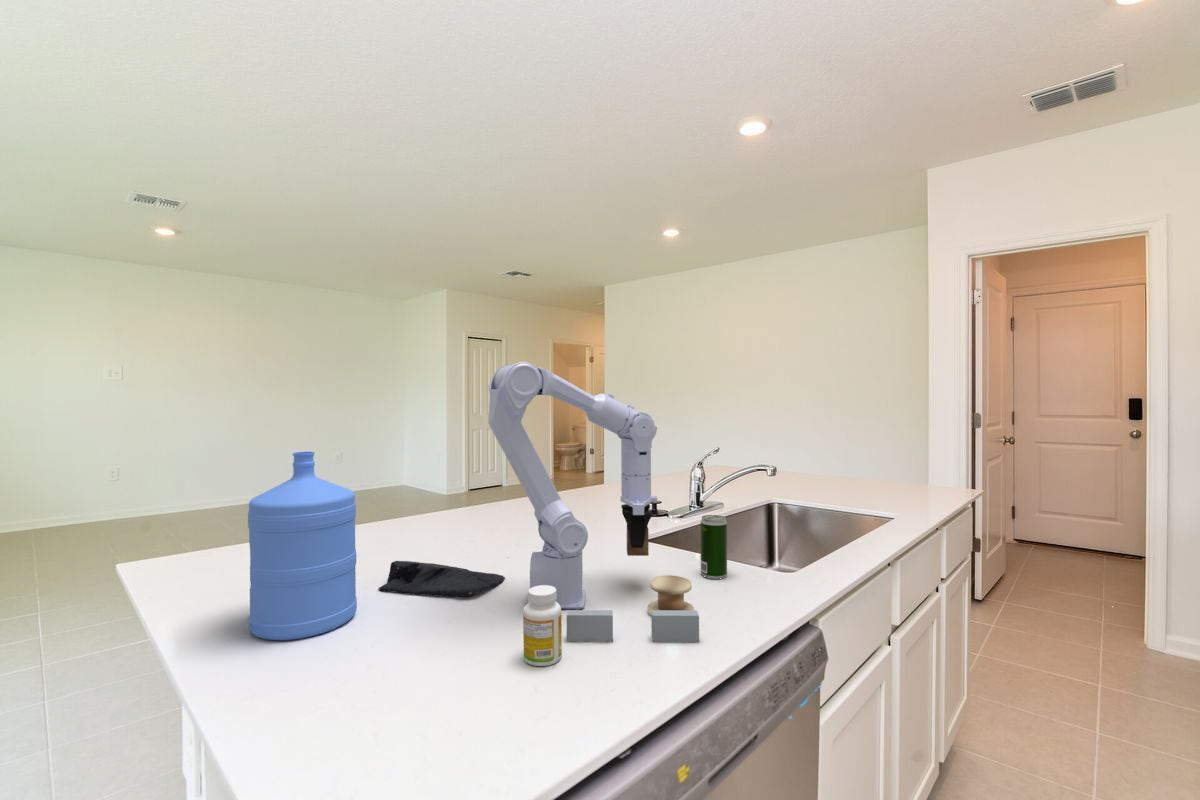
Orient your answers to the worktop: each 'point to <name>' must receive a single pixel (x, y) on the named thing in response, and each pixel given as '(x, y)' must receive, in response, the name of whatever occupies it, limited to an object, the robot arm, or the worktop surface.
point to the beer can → (714, 546)
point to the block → (638, 551)
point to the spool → (670, 593)
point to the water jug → (302, 556)
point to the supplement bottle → (542, 627)
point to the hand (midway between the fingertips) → (636, 544)
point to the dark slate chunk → (437, 580)
